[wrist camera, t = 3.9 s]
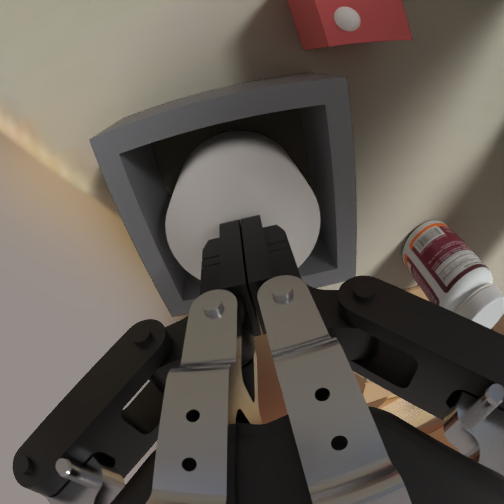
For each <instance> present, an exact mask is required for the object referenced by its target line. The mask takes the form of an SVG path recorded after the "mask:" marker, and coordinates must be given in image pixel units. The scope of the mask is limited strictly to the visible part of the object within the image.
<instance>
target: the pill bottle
mask: <svg viewBox="0 0 504 504" xmlns="http://www.w3.org/2000/svg"><path fill="white" fill-rule="evenodd" d="M402 257H403V262H404V264H405V266H406V267H407V269H408V270H409V272H410V273H411V275H412V276H413V277H414V279H415V280H416V282H417V283H418V285H419V286H420V288H421V289H422V291H423V292H424V294H425V295H426V297H427V298H428V300H429V301H430V302H432V303H434V304H437V305H439V306H441V307H443V308H445V309H448V310H450V311H452V312H454V313H457V314H459V315H461V316H463V317H465V318H468V319H470V320H472V321H474V322H476V323H478V324H481V325H483V326H485V327H487V328H489V329H491V328H492V327H493V326H494V325H495V324H496V323H497V322H498V321H499V319H500V318H501V316H502V314H503V313H504V296H503V294H502V293H501V292H500V290H499V289H498V288H497V287H496V286H495V285H494V284H493V277H492V274H491V272H490V270H489V269H488V268H487V267H486V265H485V264H484V263H483V262H482V261H481V260H480V259H479V258H478V257H477V255H476V254H475V253H474V252H473V251H472V250H471V249H470V248H469V247H468V246H467V245H466V244H465V243H464V242H463V241H462V240H461V239H460V238H459V237H458V236H457V235H456V233H455V232H453V231H452V230H451V229H450V228H449V227H448V226H447V225H446V224H445V223H443V222H441V221H437V220H431V221H428V222H425V223H423V224H422V225H420V226H419V227H417V228H416V229H415V230H414V231H413V232H412V233H411V235H410V236H409V238H408V239H407V241H406V243H405V245H404V248H403V252H402Z"/></svg>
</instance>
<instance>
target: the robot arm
mask: <svg viewBox="0 0 504 504" xmlns="http://www.w3.org/2000/svg"><path fill="white" fill-rule="evenodd" d="M240 220H241V224H240V221H239V219H238V220H234V221H229V222H225V223H221V224H220V225H219V238H215V239H210V240H208V242H207V243H206V245H205V246H204V248H203V251H202V265H201V267H202V269H201V280H200V296H199V297H198V298H196V299H195V300H194V302H193V303H192V305H191V307H190V310H189V315H188V316H187V317H186V318H184V319H182V320H180V321H178V322H176V323H174V324H172V325H169V326H167V327H164V326H163V324H162V323H161V322H159V321H157V320H153V319H148V320H144V321H140V322H138V323H136V324H135V325H133V326H132V327H131V328H130V329H129V330H128V331H127V332H126V333H125V334H124V335H123V336H122V337H121V338H120V339H119V340H118V341H117V342H116V343H115V344H114V345H113V346H112V347H111V348H110V350H109V351H108V352H107V353H106V354H105V355H104V356H103V357H102V358H101V359H100V360H99V361H98V362H97V363H96V364H95V365H94V366H93V367H92V368H91V370H90V371H89V372H88V373H87V374H86V375H85V376H84V377H83V378H82V379H81V380H80V381H79V382H78V383H77V385H76V386H75V387H74V388H73V389H72V390H71V391H70V392H69V393H68V394H67V396H65V398H64V399H63V400H62V401H61V402H60V403H59V404H58V405H57V407H55V409H54V410H53V411H52V412H51V413H50V414H49V415H48V416H47V417H46V419H45V420H44V421H43V422H42V423H41V424H40V425H39V426H38V428H37V429H36V430H35V431H34V432H33V433H32V434H31V436H30V437H29V438H28V439H27V440H26V441H25V443H24V444H23V445H22V446H21V447H20V448H19V449H18V451H17V452H16V454H15V456H14V460H13V472H14V476H15V478H16V480H17V481H18V483H19V484H20V485H22V486H23V487H25V488H28V489H30V490H32V491H35V492H37V493H40V494H41V495H43V496H45V497H46V498H47V499H48V501H49V502H50V504H504V335H502V334H500V333H498V332H496V331H494V330H491V329H489V328H487V327H485V326H483V325H481V324H478V323H476V322H474V321H472V320H470V319H468V318H465V317H463V316H461V315H459V314H457V313H454V312H452V311H450V310H448V309H445V308H443V307H441V306H439V305H437V304H434V303H432V302H430V301H428V300H425V299H423V298H421V297H418V296H416V295H414V294H412V293H409V292H407V291H405V290H402V289H400V288H398V287H396V286H393V285H391V284H389V283H386V282H384V281H382V280H379V279H377V278H374V277H371V276H356V277H353V278H350V279H348V280H347V281H345V282H344V283H343V284H342V285H341V287H340V289H339V290H321V289H316V288H313V287H311V286H309V285H307V284H306V283H305V282H304V281H303V280H302V278H301V276H300V273H299V270H298V267H297V264H296V261H295V258H294V256H293V253H292V250H291V247H290V244H289V241H288V238H287V235H286V232H285V231H284V230H283V229H282V228H281V227H279V226H278V225H272V226H268V227H262V223H261V218H260V215H256V216H251V217H247V218H242V219H240ZM259 321H260V323H259ZM260 325H261V328H262V332H263V334H267V336H268V340H269V343H270V348H271V351H272V355H273V359H274V363H275V367H276V371H277V374H278V378H279V382H280V385H281V389H282V393H283V397H284V400H285V404H286V408H287V411H288V415H286V416H284V417H281V418H279V419H277V420H274V421H272V422H270V423H267V424H262V423H261V418H260V413H259V407H258V385H257V357H256V353H255V341H254V336H258V335H261V330H260ZM352 370H353V371H354V372H356V373H358V374H360V375H361V376H363V377H365V378H367V379H368V380H370V381H372V382H374V383H375V384H377V385H379V386H381V387H382V388H384V389H386V390H388V391H390V392H391V393H393V394H395V395H397V396H399V397H400V398H402V399H404V400H406V401H408V402H410V403H412V404H413V405H415V406H417V407H419V408H421V409H423V410H425V411H427V412H428V413H430V414H432V415H434V416H436V417H438V418H440V419H442V420H444V421H443V430H444V434H445V437H446V438H447V440H448V441H449V442H450V443H452V444H453V445H454V446H456V447H457V449H458V450H459V451H460V453H459V452H457V451H455V450H454V449H452V448H450V447H448V446H446V445H445V444H443V443H441V442H439V441H438V440H436V439H434V438H432V437H431V436H429V435H427V434H425V433H424V432H422V431H420V430H419V429H417V428H415V427H414V426H412V425H410V424H409V423H407V422H405V421H404V420H402V419H400V418H399V417H397V416H395V415H393V414H391V413H389V412H387V411H384V410H381V409H378V408H375V407H368V406H367V403H366V401H365V398H364V396H363V394H362V392H361V389H360V387H359V385H358V383H357V380H356V378H355V376H354V373H353V371H352ZM148 379H149V380H150V382H149V383H148V384H147V385H146V387H145V388H144V389H143V390H142V391H141V392H140V393H139V394H138V396H137V397H136V398H135V399H134V400H133V401H132V402H131V404H130V405H129V406H128V407H127V408H126V409H124V410H122V409H123V408H124V406H125V405H126V404H127V403H128V402H129V401H130V400H131V398H132V397H133V396H134V395H135V394H136V393H137V392H138V391H139V389H140V388H141V387H142V386H143V385H144V383H146V382H147V380H148ZM157 440H158V441H157ZM156 441H157V448H156V450H155V451H154V452H153V453H152V454H151V455H150V456H149V457H148V458H147V460H146V461H145V462H144V463H143V464H142V466H141V467H140V468H139V469H138V471H137V472H136V473H135V474H134V476H133V477H132V478H131V479H130V480H129V482H128V483H127V484H126V485H125V484H124V480H123V479H124V478H125V476H126V475H127V474H128V473H129V472H130V471H131V470H132V468H133V467H134V466H135V465H136V464H137V463H138V462H139V461H140V459H141V458H142V457H143V456H144V455H145V454H146V453H147V451H148V450H149V449H150V448H151V447H152V446H153V444H154V443H155V442H156Z"/></svg>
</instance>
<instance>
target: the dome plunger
mask: <svg viewBox="0 0 504 504" xmlns="http://www.w3.org/2000/svg"><path fill="white" fill-rule="evenodd" d="M256 215H260V218H261V223H262V227H268V226H272V225H278V226H279V227H281V228H282V229H283V230H284V231H285V232H286V235H287V238H288V241H289V244H290V247H291V250H292V253H293V256H294V258H295V261H296V264H297V267H299V266H300V265H301V264H302V263H303V262H304V261H305V260H306V259H307V257H308V256H309V255H310V253H311V251H312V250H313V248H314V246H315V244H316V241H317V238H318V235H319V230H320V210H319V205H318V202H317V199H316V197H315V195H314V193H313V191H312V189H311V188H310V186H309V185H308V183H307V182H306V180H305V179H304V177H303V175H302V174H301V172H300V171H299V169H298V168H297V167H296V165H295V164H294V162H293V161H292V159H291V158H290V156H289V155H288V154H287V152H286V151H285V150H284V149H283V148H282V147H281V146H280V145H279V144H278V143H276V142H275V141H273V140H272V139H270V138H268V137H266V136H264V135H261V134H258V133H254V132H250V131H230V132H224V133H221V134H218V135H215V136H213V137H211V138H209V139H207V140H205V141H204V142H202V143H201V144H200V145H199V146H197V147H196V148H195V149H194V150H193V151H192V152H191V154H190V155H189V156H188V158H187V159H186V161H185V163H184V165H183V167H182V169H181V172H180V175H179V178H178V180H177V183H176V186H175V189H174V192H173V195H172V198H171V201H170V203H169V207H168V210H167V214H166V222H165V227H166V236H167V241H168V244H169V247H170V249H171V251H172V253H173V255H174V257H175V258H176V259H177V261H178V262H179V263H180V265H181V266H182V267H183V268H184V269H185V270H186V271H188V272H189V273H190V274H191V275H193V276H194V277H196V278H197V279H199V280H201V269H202V267H201V265H202V251H203V248H204V246H205V245H206V243H207V242H208V240H210V239H215V238H219V225H220V224H221V223H225V222H229V221H234V220H238V219H239V221H240V224H241V220H240V219H242V218H247V217H251V216H256Z"/></svg>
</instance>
